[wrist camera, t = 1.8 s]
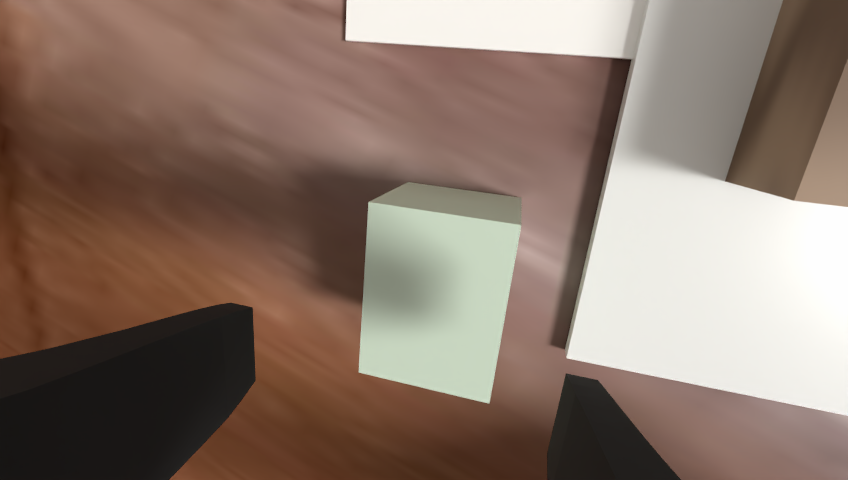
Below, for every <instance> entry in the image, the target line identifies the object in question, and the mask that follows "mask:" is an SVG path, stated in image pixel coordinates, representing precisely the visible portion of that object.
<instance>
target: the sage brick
mask: <svg viewBox="0 0 848 480" xmlns="http://www.w3.org/2000/svg"><path fill="white" fill-rule="evenodd" d="M520 229H521V198H520V197H512V196H505V195H498V194H491V193H483V192H476V191H469V190H462V189H454V188H447V187H440V186H433V185H426V184H418V183H411V182H407V183H405V184H403V185H401V186H399V187H397V188H395V189H393V190H391V191H389V192H387V193H385V194H383V195H381V196H379V197H377V198H375V199H373V200H371V201H369V202H368V220H367V237H366V254H365V272H364V289H363V306H362V324H361V341H360V359H359V373H363V374H368V375H372V376H376V377H380V378H384V379H389V380H393V381H397V382H401V383H405V384H409V385H414V386H418V387H422V388H426V389H430V390H434V391H439V392H443V393H447V394H451V395H455V396H459V397H464V398H468V399H472V400H476V401H480V402H485V403H490V397H491V392H492V386H493V381H494V375H495V369H496V364H497V358H498V353H499V347H500V341H501V336H502V330H503V325H504V319H505V313H506V308H507V302H508V297H509V291H510V285H511V280H512V274H513V269H514V263H515V257H516V252H517V246H518V241H519V235H520Z"/></svg>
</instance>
